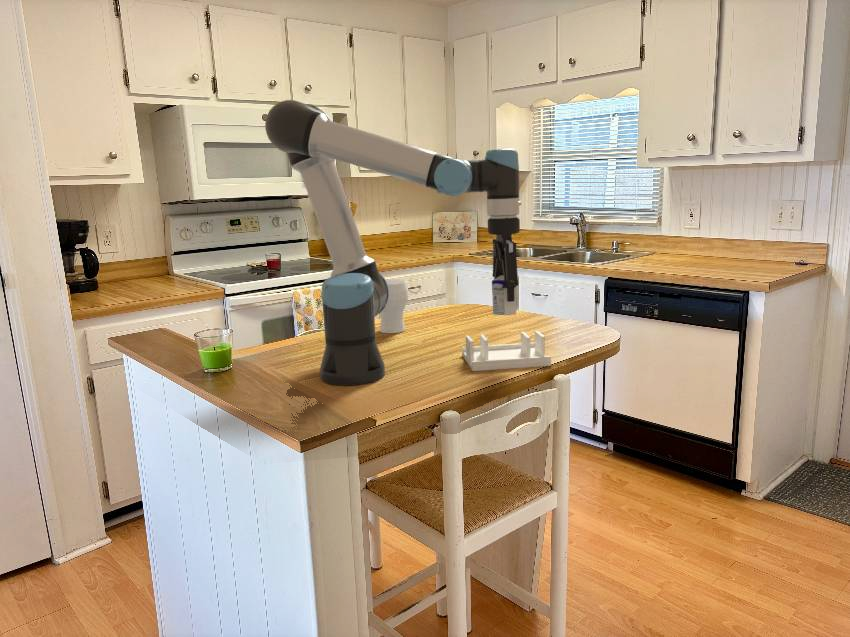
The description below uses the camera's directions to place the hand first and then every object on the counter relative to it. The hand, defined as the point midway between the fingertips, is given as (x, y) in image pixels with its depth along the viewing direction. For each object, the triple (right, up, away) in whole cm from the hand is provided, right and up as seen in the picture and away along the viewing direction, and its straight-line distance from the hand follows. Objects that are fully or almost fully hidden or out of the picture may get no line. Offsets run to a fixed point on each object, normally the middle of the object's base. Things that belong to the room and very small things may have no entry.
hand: (505, 310), depth 155 cm
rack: (0, -12, +3) cm, 13 cm away
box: (0, -1, 0) cm, 1 cm away
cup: (-29, -6, +38) cm, 49 cm away
